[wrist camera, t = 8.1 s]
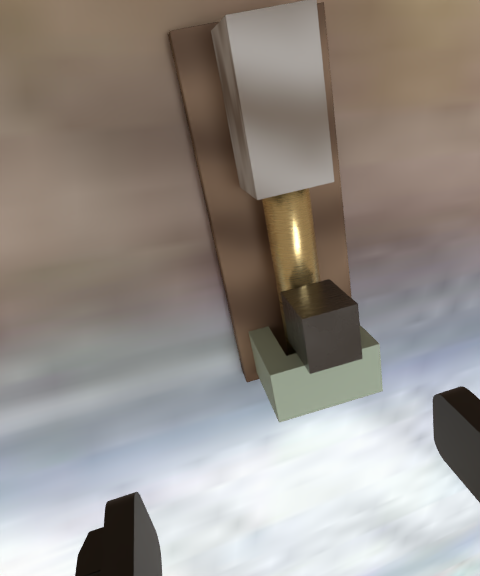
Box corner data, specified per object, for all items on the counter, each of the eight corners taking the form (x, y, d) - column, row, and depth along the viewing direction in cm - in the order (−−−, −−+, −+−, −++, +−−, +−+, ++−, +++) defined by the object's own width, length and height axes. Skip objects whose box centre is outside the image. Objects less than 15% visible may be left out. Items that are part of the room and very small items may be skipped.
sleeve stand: (168, 34, 28) (176, 14, 22) (315, 7, 30) (359, -19, 24) (243, 372, 39) (261, 419, 33) (348, 342, 40) (385, 382, 34)
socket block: (248, 331, 36) (270, 375, 30) (340, 306, 37) (379, 343, 31) (257, 373, 37) (279, 422, 32) (345, 347, 38) (382, 391, 33)
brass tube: (242, 131, 29) (275, 138, 22) (294, 120, 30) (342, 123, 23) (280, 348, 36) (314, 405, 29) (322, 336, 36) (365, 389, 30)
